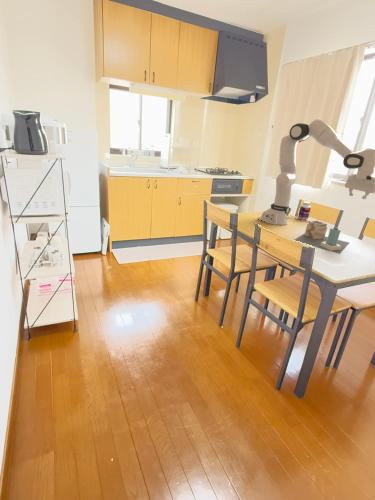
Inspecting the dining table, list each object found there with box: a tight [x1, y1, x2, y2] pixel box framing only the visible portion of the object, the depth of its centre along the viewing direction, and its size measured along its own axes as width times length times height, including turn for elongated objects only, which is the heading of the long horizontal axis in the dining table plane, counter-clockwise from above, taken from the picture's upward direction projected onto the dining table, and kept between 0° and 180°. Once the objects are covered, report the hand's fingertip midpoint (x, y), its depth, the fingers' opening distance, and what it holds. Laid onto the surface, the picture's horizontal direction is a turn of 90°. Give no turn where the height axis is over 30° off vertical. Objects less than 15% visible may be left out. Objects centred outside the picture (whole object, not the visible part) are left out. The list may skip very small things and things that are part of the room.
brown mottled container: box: [304, 220, 328, 239], centre depth 186 cm, size 9×9×10 cm
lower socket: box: [320, 242, 341, 252], centre depth 169 cm, size 8×8×2 cm
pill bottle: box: [297, 201, 312, 221], centre depth 230 cm, size 8×8×14 cm
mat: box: [294, 232, 350, 255], centre depth 179 cm, size 28×28×1 cm
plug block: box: [326, 226, 341, 246], centre depth 167 cm, size 4×4×13 cm
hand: (357, 197), depth 179 cm, fingers open, 8 cm apart
